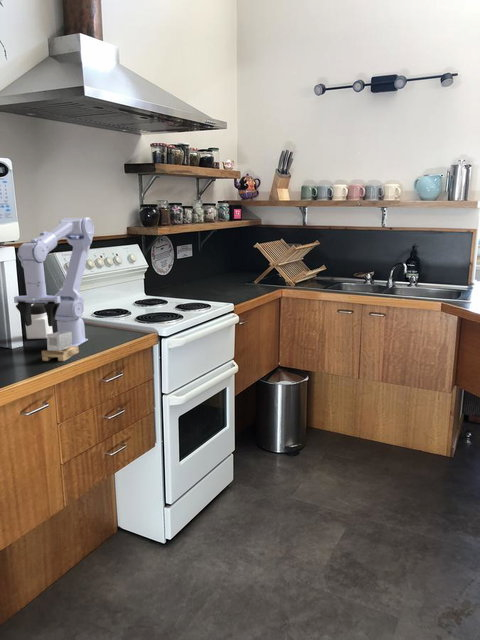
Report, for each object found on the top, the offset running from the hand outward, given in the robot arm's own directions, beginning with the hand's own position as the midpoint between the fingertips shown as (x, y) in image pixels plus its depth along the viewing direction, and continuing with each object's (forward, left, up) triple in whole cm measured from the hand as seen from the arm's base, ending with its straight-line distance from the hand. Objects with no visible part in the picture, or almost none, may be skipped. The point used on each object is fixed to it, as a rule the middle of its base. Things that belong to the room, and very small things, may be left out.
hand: (40, 325), depth 164 cm
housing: (0, +6, -7) cm, 10 cm away
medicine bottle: (-24, -15, -10) cm, 30 cm away
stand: (0, +6, -10) cm, 12 cm away
